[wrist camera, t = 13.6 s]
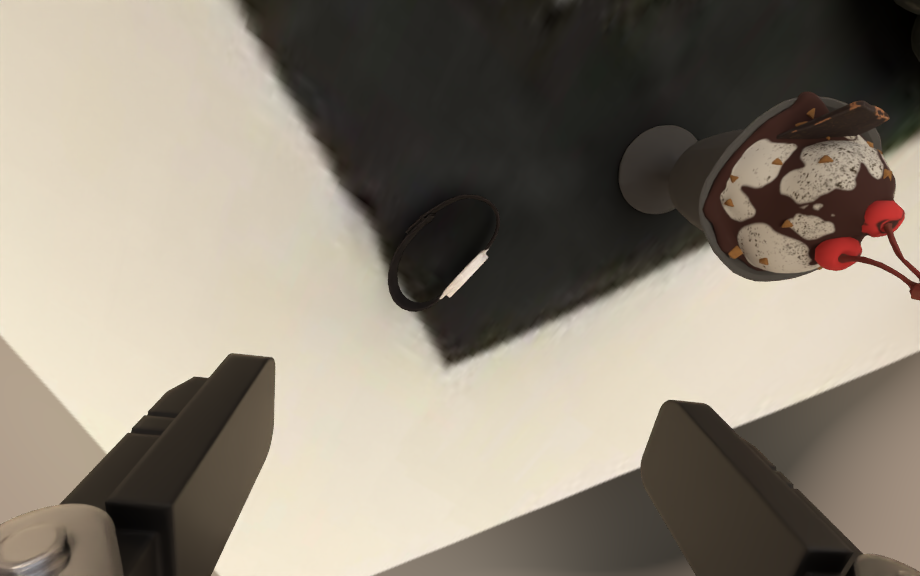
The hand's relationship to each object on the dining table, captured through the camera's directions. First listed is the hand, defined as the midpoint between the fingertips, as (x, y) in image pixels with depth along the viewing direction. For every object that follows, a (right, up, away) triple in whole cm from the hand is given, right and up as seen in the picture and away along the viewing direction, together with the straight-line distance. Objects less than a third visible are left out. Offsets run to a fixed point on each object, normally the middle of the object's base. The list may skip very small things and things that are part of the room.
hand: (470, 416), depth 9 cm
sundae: (+11, +9, +17) cm, 22 cm away
